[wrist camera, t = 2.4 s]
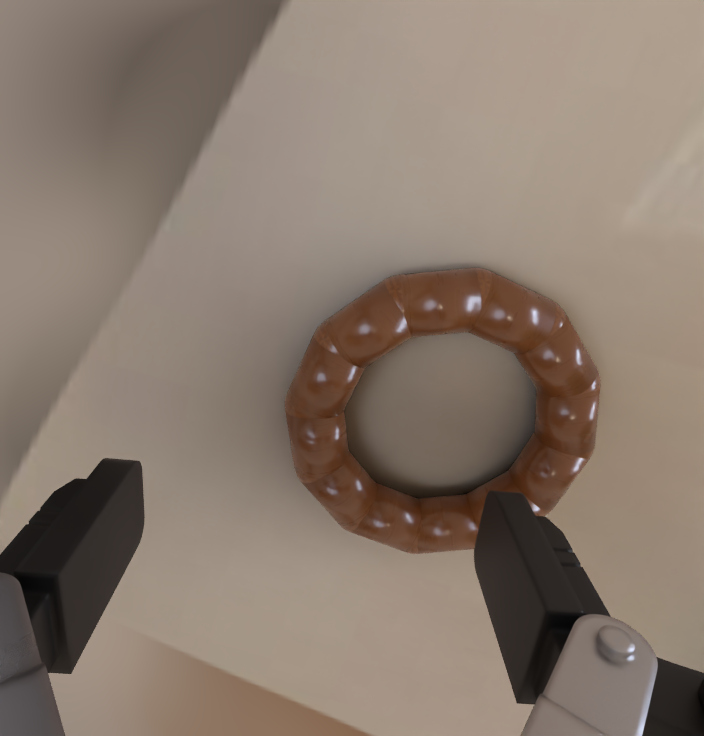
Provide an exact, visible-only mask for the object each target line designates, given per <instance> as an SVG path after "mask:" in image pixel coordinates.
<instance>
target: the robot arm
mask: <svg viewBox="0 0 704 736" xmlns="http://www.w3.org/2000/svg"><path fill="white" fill-rule="evenodd" d="M143 528H144V498H143V478H142V466H141V463H140V462H139V461H133V460H121V459H109V458H105V459H103V460H102V461H101V462H100V463H99V464H98V465H97V467H96V468H95V469H94V470H93V472H92V473H91V474H90V475H89V477H88V478H87V479H74V480H72V481H71V482H69V483H68V484H66V485H64V486H63V487H61V488H59V489H58V490H56V491H54V493H53V494H52V495H51V496H50V497H49V498H48V500H47V501H46V502H45V503H44V504H43V505H42V507H41V509H40V511H37V512H36V514H35V515H34V516H33V517H32V518H31V519H30V521H29V524H28V525H25V526H24V528H23V529H22V530H21V531H20V532H19V533H18V535H17V536H16V537H15V538H14V539H13V540H12V542H11V543H10V544H9V545H8V546H7V547H6V549H5V550H4V551H3V552H2V553H1V554H0V736H65V733H64V730H63V726H62V723H61V719H60V716H59V712H58V708H57V705H56V701H55V697H54V694H53V690H52V686H51V683H50V679H49V675H48V673H63V674H71V673H72V671H73V669H74V667H75V665H76V663H77V661H78V659H79V657H80V656H81V654H82V652H83V650H84V648H85V646H86V644H87V642H88V640H89V638H90V637H91V634H92V633H93V631H94V629H95V627H96V625H97V623H98V621H99V619H100V617H101V616H102V614H103V612H104V610H105V608H106V606H107V604H108V602H109V601H110V599H111V597H112V595H113V593H114V591H115V589H116V587H117V585H118V583H119V581H120V580H121V578H122V576H123V574H124V572H125V570H126V568H127V566H128V564H129V562H130V561H131V559H132V557H133V555H134V553H135V551H136V549H137V547H138V545H139V543H140V540H141V537H142V533H143ZM474 562H475V569H476V573H477V576H478V580H479V583H480V586H481V589H482V592H483V596H484V599H485V602H486V605H487V608H488V612H489V615H490V618H491V621H492V624H493V628H494V631H495V634H496V637H497V641H498V644H499V647H500V650H501V653H502V657H503V660H504V663H505V666H506V669H507V673H508V676H509V679H510V682H511V685H512V689H513V692H514V695H515V698H516V702H517V703H521V704H535V705H534V707H533V709H532V712H531V714H530V716H529V718H528V720H527V723H526V725H525V727H524V729H523V731H522V734H521V736H704V673H702V672H699V671H695V670H692V669H689V668H686V667H683V666H680V665H677V664H674V663H671V662H668V661H665V660H663V659H660V658H658V657H656V655H655V653H654V651H653V649H652V647H651V646H650V645H649V643H648V642H647V641H646V640H645V639H644V638H643V637H642V635H640V634H639V633H638V632H637V631H636V630H634V629H633V628H631V627H630V626H628V625H627V624H625V623H623V622H621V621H619V620H617V619H615V618H612V617H611V616H610V614H609V613H608V611H607V609H606V607H605V606H604V604H603V602H602V600H601V599H600V597H599V595H598V593H597V592H596V590H595V588H594V586H593V585H592V583H591V581H590V579H589V578H588V576H587V574H586V572H585V571H584V569H583V567H580V562H579V560H578V558H577V557H576V555H575V553H572V548H571V546H570V544H569V543H568V541H567V539H566V537H565V536H564V534H563V532H562V531H561V530H560V529H558V528H557V527H556V526H555V525H554V524H553V523H552V522H551V521H550V520H548V519H547V518H546V517H544V516H535V514H534V512H533V510H532V508H531V506H530V504H529V502H528V500H527V499H526V497H525V495H524V494H523V493H517V492H504V491H489V492H488V494H487V496H486V500H485V504H484V508H483V512H482V516H481V521H480V525H479V529H478V533H477V538H476V542H475V549H474Z"/></svg>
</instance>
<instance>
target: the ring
mask: <svg viewBox="0 0 704 736" xmlns="http://www.w3.org/2000/svg"><path fill="white" fill-rule="evenodd" d="M461 332H470V333H472V334H474V335H476V336H478V337H481V338H483V339H485V340H487V341H489V342H492V343H494V344H496V345H498V346H501V347H503V348H505V349H507V350H509V351H512V352H514V354H515V356H516V357H517V359H518V360H519V362H520V363H521V365H522V367H523V368H524V370H525V371H526V373H527V374H528V376H529V378H530V379H531V381H532V382H533V384H534V385H535V387H536V389H537V391H536V414H535V432H534V433H533V435H532V436H531V438H530V439H529V441H528V442H527V444H526V445H525V447H524V448H523V450H522V451H521V453H520V454H519V456H518V457H517V459H516V460H515V462H514V463H513V465H512V466H511V468H510V469H509V470H508V471H506V472H505V473H503V474H501V475H499V476H497V477H496V478H494V479H492V480H490V481H489V482H487V483H485V484H483V485H482V486H480V487H478V488H476V489H475V490H473V491H471V492H469V493H468V494H465V495H453V496H441V497H430V498H418V499H417V498H414V497H412V496H409V495H407V494H404V493H401V492H399V491H396V490H394V489H391V488H388V487H386V486H383V485H380V484H378V483H375V482H374V481H373V480H372V478H371V477H370V476H369V475H368V474H367V472H366V471H365V470H364V469H363V468H362V466H361V465H360V464H359V463H358V461H357V460H356V459H355V458H354V457H353V455H352V454H351V453H350V452H349V450H348V441H347V432H346V423H345V414H344V409H345V407H346V405H347V403H348V401H349V399H350V397H351V395H352V393H353V391H354V389H355V387H356V385H357V383H358V381H359V379H360V377H361V375H362V373H363V371H364V369H365V367H367V366H368V365H370V364H371V363H373V362H374V361H376V360H378V359H379V358H381V357H382V356H384V355H385V354H387V353H388V352H390V351H391V350H393V349H394V348H396V347H397V346H399V345H400V344H402V343H403V342H405V341H406V340H408V339H409V338H411V337H418V336H428V335H439V334H450V333H461ZM600 381H601V380H600V375H599V372H598V369H597V367H596V366H595V364H594V362H593V360H592V359H591V357H590V355H589V353H588V352H587V350H586V348H585V347H584V345H583V343H582V341H581V340H580V338H579V336H578V334H577V333H576V331H575V329H574V327H573V326H572V324H571V322H570V320H569V319H568V317H567V315H566V314H565V312H564V310H563V309H562V308H561V307H560V306H559V305H558V304H556V303H555V302H553V301H551V300H549V299H547V298H545V297H543V296H541V295H539V294H537V293H535V292H533V291H530V290H528V289H526V288H524V287H522V286H520V285H518V284H516V283H514V282H512V281H509V280H507V279H505V278H503V277H501V276H499V275H497V274H495V273H493V272H491V271H488V270H485V269H482V268H465V269H455V270H444V271H434V272H423V273H413V274H403V275H395V276H391V277H389V278H387V279H385V280H383V281H382V282H380V283H379V284H378V285H376V286H375V287H373V288H372V289H370V290H369V291H367V292H366V293H365V294H363V295H362V296H360V297H359V298H357V299H356V300H354V301H353V302H352V303H350V304H349V305H347V306H346V307H344V308H343V309H341V310H340V311H339V312H337V313H336V314H334V315H333V316H331V317H330V318H328V319H327V320H326V321H324V322H323V323H322V324H321V325H320V326H319V327H318V328H317V330H316V331H315V333H314V335H313V337H312V340H311V342H310V344H309V346H308V348H307V350H306V353H305V355H304V357H303V359H302V361H301V364H300V366H299V368H298V370H297V372H296V375H295V377H294V379H293V381H292V383H291V386H290V388H289V390H288V392H287V395H286V398H285V412H286V418H287V424H288V431H289V437H290V443H291V450H292V456H293V462H294V468H295V472H296V474H297V476H298V478H299V480H300V481H301V482H302V483H303V484H304V485H305V487H306V488H307V489H308V490H309V491H310V492H311V493H312V494H313V496H314V497H315V498H316V499H317V500H318V501H319V502H320V503H321V505H322V506H323V507H324V508H325V509H326V510H327V511H328V512H329V513H330V515H331V516H332V517H333V518H334V519H335V520H336V521H337V522H338V524H339V525H340V526H341V527H343V528H344V529H345V530H347V531H349V532H352V533H354V534H357V535H360V536H363V537H366V538H368V539H371V540H374V541H377V542H379V543H382V544H385V545H388V546H390V547H393V548H396V549H399V550H401V551H404V552H407V553H412V554H420V553H432V552H444V551H456V550H468V549H475V542H476V538H477V533H478V529H479V525H480V521H481V516H482V512H483V508H484V504H485V500H486V496H487V494H488V492H489V491H504V492H517V493H523V494H524V495H525V497H526V499H527V500H528V502H529V504H530V506H531V508H532V510H533V512H534V514H535V516H545V515H547V514H548V513H549V512H550V511H551V510H552V509H553V508H554V507H555V506H556V504H557V503H558V501H559V500H560V499H561V497H562V496H563V494H564V493H565V492H566V490H567V489H568V488H569V486H570V485H571V483H572V482H573V481H574V479H575V478H576V477H577V475H578V474H579V472H580V471H581V470H582V468H583V467H584V465H585V464H586V463H587V461H588V460H589V459H590V457H591V455H592V453H593V451H594V447H595V438H596V427H597V416H598V405H599V394H600Z"/></svg>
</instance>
